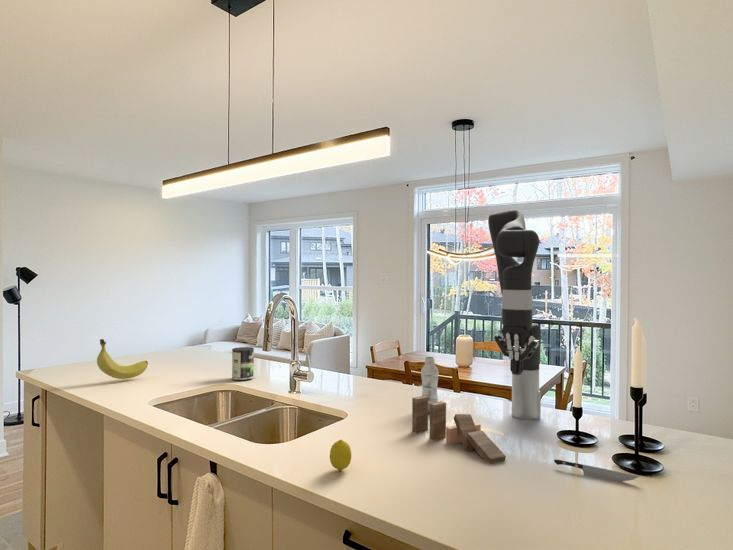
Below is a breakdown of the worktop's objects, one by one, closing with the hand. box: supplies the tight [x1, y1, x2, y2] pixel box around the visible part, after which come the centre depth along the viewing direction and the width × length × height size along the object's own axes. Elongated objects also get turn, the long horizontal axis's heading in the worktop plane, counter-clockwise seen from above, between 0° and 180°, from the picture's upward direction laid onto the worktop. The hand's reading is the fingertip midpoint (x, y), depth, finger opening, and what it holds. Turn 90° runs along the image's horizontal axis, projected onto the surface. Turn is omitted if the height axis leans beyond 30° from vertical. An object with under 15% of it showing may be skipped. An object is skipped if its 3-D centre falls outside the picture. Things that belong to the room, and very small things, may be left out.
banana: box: [96, 338, 149, 380], centre depth 214 cm, size 23×6×20 cm, turn 140°
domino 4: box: [453, 413, 477, 451], centre depth 132 cm, size 2×5×11 cm
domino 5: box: [466, 430, 507, 464], centre depth 124 cm, size 2×5×11 cm
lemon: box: [329, 439, 352, 472], centre depth 114 cm, size 6×6×8 cm
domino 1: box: [411, 395, 429, 434], centre depth 144 cm, size 2×5×11 cm, turn 126°
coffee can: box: [231, 346, 255, 381], centre depth 219 cm, size 10×10×14 cm
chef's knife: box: [553, 459, 640, 482], centre depth 111 cm, size 19×1×3 cm, turn 59°
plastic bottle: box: [420, 356, 440, 414], centre depth 165 cm, size 6×7×20 cm
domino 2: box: [428, 400, 447, 442], centre depth 138 cm, size 2×5×11 cm, turn 125°
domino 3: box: [445, 422, 482, 445], centre depth 136 cm, size 2×5×11 cm
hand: (516, 374), depth 116 cm, fingers closed
